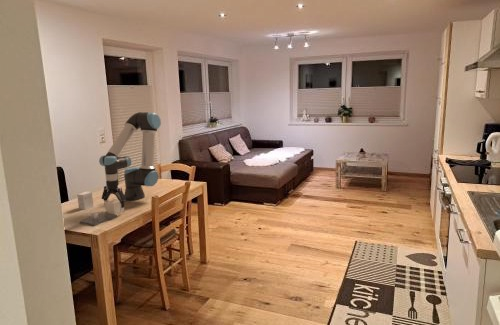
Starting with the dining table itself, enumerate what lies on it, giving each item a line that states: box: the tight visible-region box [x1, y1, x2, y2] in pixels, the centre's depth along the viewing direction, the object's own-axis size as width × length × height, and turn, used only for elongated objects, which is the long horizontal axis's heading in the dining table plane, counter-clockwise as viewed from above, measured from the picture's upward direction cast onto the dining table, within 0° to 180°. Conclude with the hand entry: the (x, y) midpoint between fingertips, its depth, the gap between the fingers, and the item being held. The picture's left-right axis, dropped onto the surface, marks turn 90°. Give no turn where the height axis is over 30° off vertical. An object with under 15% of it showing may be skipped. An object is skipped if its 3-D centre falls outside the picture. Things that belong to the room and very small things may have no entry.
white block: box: [106, 199, 121, 216], centre depth 235 cm, size 7×7×8 cm
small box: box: [77, 190, 94, 210], centre depth 247 cm, size 8×6×10 cm
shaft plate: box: [79, 211, 118, 227], centre depth 222 cm, size 18×12×6 cm, turn 154°
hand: (114, 210), depth 235 cm, fingers open, 13 cm apart
